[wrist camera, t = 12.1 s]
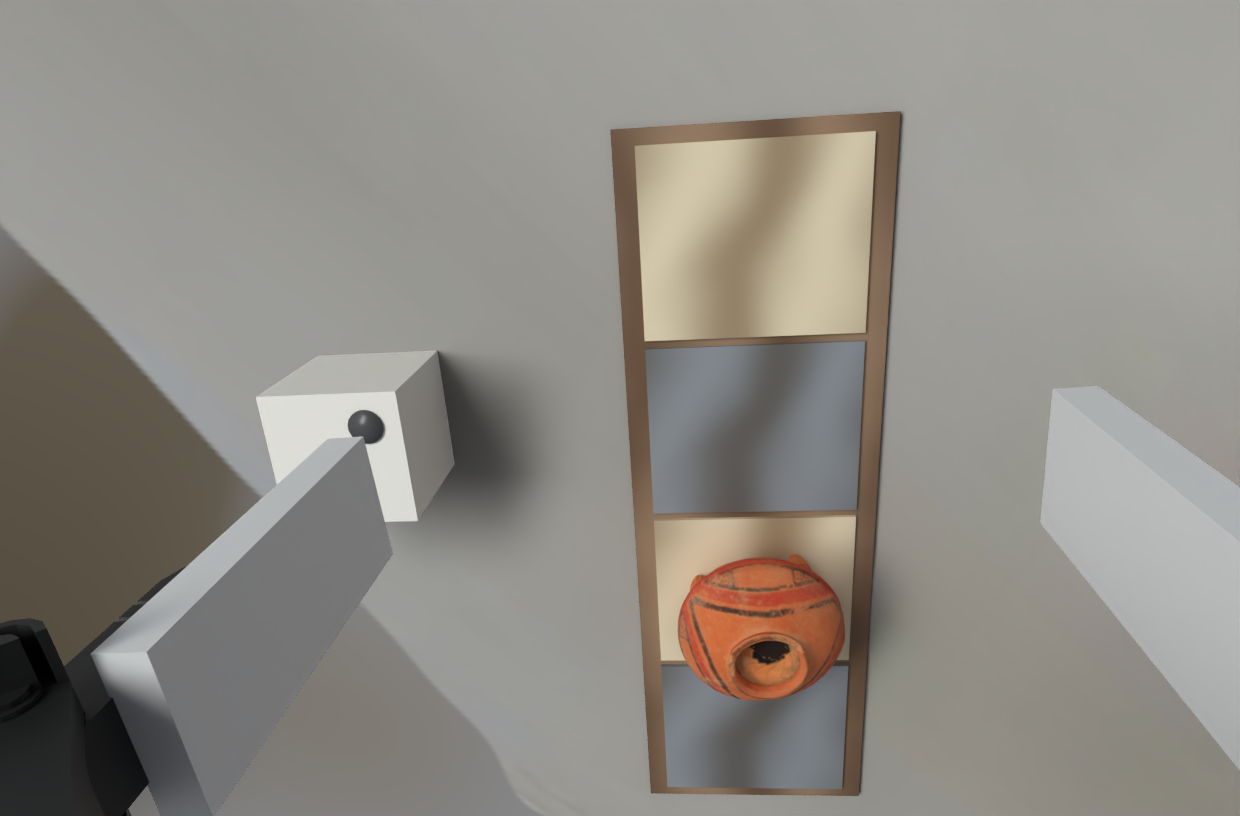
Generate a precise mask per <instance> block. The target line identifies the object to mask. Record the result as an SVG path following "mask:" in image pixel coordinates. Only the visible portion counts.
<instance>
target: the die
mask: <svg viewBox="0 0 1240 816" xmlns="http://www.w3.org/2000/svg"><path fill="white" fill-rule="evenodd" d="M256 400H257V405H258V409H259V413H260V417H261V421H262V425H263V429H264V433H265V437H266V442H267V446H268V450H269V454H270V458H271V462H272V466H273V470H274V474H275V478H276V483H277V484H278V483H280V482H281V481H282V480H283V479H284V478H285V477H286V476H287V475H288V474H289V473H291V472H292V471H293V470H294V469H295V468H296V467H297V466H298V465H299V464H301V463H302V462H303V461H304V460H305V459H306V458H307V457H308V456H309V455H310V454H312V453H313V452H314V451H315V450H316V449H317V448H318V447H319V446H320V445H321V444H323V443H324V442H325V441H326V440H327V439H332V438H347V437H361V436H363V437H364V441H365V445H366V449H367V453H368V457H369V461H370V465H371V469H372V473H373V477H374V481H375V485H376V489H377V493H378V497H379V501H380V505H381V509H382V513H383V517H384V521H385V522H396V521H418V520H419V519H420V517H421V515H422V514H423V512H424V511H425V509H426V508H427V506H428V505H429V503H430V502H431V500H432V499H433V497H434V495H435V494H436V492H437V491H438V489H439V488H440V486H441V485H442V483H443V482H444V480H445V478H446V477H447V475H448V474H449V472H450V471H451V469H452V468H453V466H454V465H455V462H454V455H453V449H452V442H451V436H450V429H449V423H448V416H447V410H446V403H445V397H444V390H443V384H442V378H441V371H440V365H439V358H438V352H437V351H417V352H394V353H372V354H350V355H327V356H317V357H315V358H314V359H312V360H311V361H309V362H308V363H306V364H305V365H303V366H302V367H300V368H299V369H297V370H296V371H294V372H293V373H291V374H290V375H288V376H287V377H285V378H284V379H282V380H280V381H279V382H277V383H276V384H274V385H273V386H271V387H270V388H268V389H267V390H265V391H264V392H262V393H261V394H259V395H258V396H256Z"/></svg>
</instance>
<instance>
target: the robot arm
mask: <svg viewBox="0 0 1240 816" xmlns="http://www.w3.org/2000/svg"><path fill="white" fill-rule="evenodd" d="M1040 523H1041V524H1042V526H1043V527H1044V528H1045V529H1046V531H1047V532H1048V533H1049V534H1050V535H1051V537H1052V538H1053V539H1054V540H1055V542H1056V543H1057V544H1058V545H1059V547H1060V548H1061V549H1062V550H1063V552H1064V553H1065V554H1066V555H1067V557H1068V558H1069V559H1070V560H1071V562H1072V563H1073V564H1074V565H1075V567H1076V568H1077V569H1078V570H1079V572H1080V573H1081V574H1082V575H1083V576H1084V578H1085V579H1086V580H1087V581H1088V583H1089V584H1090V585H1091V586H1092V588H1093V589H1094V590H1095V591H1096V593H1097V594H1098V595H1099V596H1100V598H1101V599H1102V600H1103V601H1104V603H1105V604H1106V605H1107V606H1108V608H1109V609H1110V610H1111V611H1112V612H1113V614H1114V615H1115V616H1116V617H1117V619H1118V620H1119V621H1120V622H1121V624H1122V625H1123V626H1124V627H1125V629H1126V630H1127V631H1128V632H1129V634H1130V635H1131V636H1132V637H1133V639H1134V640H1135V641H1136V642H1137V644H1138V645H1139V646H1140V647H1141V648H1142V650H1143V651H1144V652H1145V653H1146V655H1147V656H1148V657H1149V658H1150V660H1151V661H1152V662H1153V663H1154V665H1155V666H1156V667H1157V668H1158V670H1159V671H1160V672H1161V673H1162V675H1163V676H1164V677H1165V678H1166V680H1167V681H1168V682H1169V683H1170V684H1171V686H1172V687H1173V688H1174V689H1175V691H1176V692H1177V693H1178V694H1179V696H1180V697H1181V698H1182V699H1183V701H1184V702H1185V703H1186V704H1187V706H1188V707H1189V708H1190V709H1191V711H1192V712H1193V713H1194V714H1195V716H1196V717H1197V718H1198V719H1199V721H1200V722H1201V723H1202V724H1203V725H1204V727H1205V728H1206V729H1207V730H1208V732H1209V733H1210V734H1211V735H1212V737H1213V738H1214V739H1215V740H1216V742H1217V743H1218V744H1219V745H1220V747H1221V748H1222V749H1223V750H1224V752H1225V753H1226V754H1227V755H1228V757H1229V758H1230V759H1231V760H1232V761H1233V763H1234V764H1235V765H1236V766H1237V768H1238V769H1239V770H1240V487H1239V486H1237V485H1236V484H1234V483H1233V482H1232V481H1230V480H1229V479H1227V478H1226V477H1225V476H1223V475H1222V474H1220V473H1219V472H1218V471H1216V470H1215V469H1213V468H1212V467H1211V466H1209V465H1208V464H1207V463H1205V462H1204V461H1202V460H1201V459H1200V458H1198V457H1197V456H1195V455H1194V454H1193V453H1191V452H1190V451H1188V450H1187V449H1186V448H1184V447H1183V446H1181V445H1180V444H1179V443H1177V442H1176V441H1174V440H1173V439H1172V438H1170V437H1169V436H1167V435H1166V434H1165V433H1163V432H1162V431H1160V430H1159V429H1158V428H1156V427H1155V426H1153V425H1152V424H1151V423H1149V422H1148V421H1146V420H1145V419H1144V418H1142V417H1141V416H1140V415H1138V414H1137V413H1135V412H1134V411H1133V410H1131V409H1130V408H1128V407H1127V406H1126V405H1124V404H1123V403H1121V402H1120V401H1119V400H1117V399H1116V398H1114V397H1113V396H1112V395H1110V394H1109V393H1107V392H1106V391H1105V390H1103V389H1102V388H1100V387H1099V386H1088V387H1074V388H1059V389H1053V390H1052V401H1051V412H1050V423H1049V434H1048V445H1047V456H1046V467H1045V478H1044V489H1043V500H1042V511H1041V522H1040ZM392 554H393V552H392V548H391V544H390V540H389V536H388V533H387V529H386V525H385V521H384V517H383V513H382V509H381V505H380V501H379V497H378V493H377V489H376V485H375V481H374V477H373V473H372V469H371V465H370V461H369V457H368V453H367V449H366V445H365V441H364V437H363V436H361V437H347V438H332V439H327V440H326V441H325V442H324V443H323V444H321V445H320V446H319V447H318V448H317V449H316V450H315V451H314V452H313V453H312V454H310V455H309V456H308V457H307V458H306V459H305V460H304V461H303V462H302V463H301V464H299V465H298V466H297V467H296V468H295V469H294V470H293V471H292V472H291V473H289V474H288V475H287V476H286V477H285V478H284V479H283V480H282V481H281V482H280V483H278V484H277V485H276V486H275V487H274V488H273V489H272V490H271V491H270V492H268V493H267V494H266V495H265V496H264V497H263V498H262V499H261V500H260V501H259V502H258V503H256V504H255V505H254V506H253V507H252V508H251V509H250V510H249V511H248V512H246V513H245V514H244V515H243V516H242V517H241V518H240V519H239V520H238V521H236V523H234V524H233V525H232V526H231V527H230V528H229V529H228V530H227V531H225V532H224V533H223V534H222V535H221V536H220V537H219V538H218V539H217V540H215V541H214V542H213V543H212V544H211V545H210V546H209V547H208V548H207V549H206V550H205V551H204V552H203V553H201V554H200V555H199V556H198V557H197V558H196V559H195V560H193V561H192V562H191V563H190V564H189V565H187V566H185V567H184V568H182V569H180V570H179V571H177V572H175V573H173V574H172V575H170V576H168V577H167V578H165V579H163V580H161V581H160V582H159V583H158V584H156V585H155V586H154V587H153V588H152V589H151V590H150V591H149V592H147V593H146V594H145V595H144V596H143V597H142V598H141V599H140V600H138V605H133V606H132V607H131V608H129V609H128V610H127V611H126V612H125V613H124V614H123V615H122V616H121V617H119V619H120V620H119V622H114V623H113V624H111V625H110V626H109V627H108V628H107V629H106V630H105V631H104V632H103V633H101V634H100V635H99V636H98V637H97V638H96V639H95V640H93V641H92V642H91V643H90V644H89V645H88V646H87V647H86V648H84V650H82V651H81V652H80V653H79V654H78V655H77V656H75V658H73V659H72V660H71V661H70V662H69V663H68V664H66V665H65V666H63V664H62V661H61V659H60V657H59V655H58V653H57V651H56V648H55V646H54V644H53V642H52V639H51V637H50V635H49V633H48V631H47V628H46V627H45V625H44V623H43V622H42V621H39V620H35V619H20V620H11V621H7V622H4V623H0V816H131V814H130V812H129V809H128V808H129V807H130V806H131V804H132V803H133V802H134V801H135V799H136V798H137V797H138V796H139V795H140V793H141V792H142V791H143V790H144V788H145V787H146V786H147V785H148V787H149V790H150V792H151V794H152V797H153V799H154V801H155V803H156V806H157V808H158V810H159V812H160V815H161V816H215V815H216V813H217V812H218V810H219V809H220V807H221V806H222V804H223V803H224V802H225V800H226V798H227V797H228V795H229V794H230V793H231V791H232V790H233V788H234V787H235V785H236V784H237V782H238V781H239V779H240V778H241V776H242V775H243V774H244V772H245V771H246V769H247V768H248V766H249V765H250V763H251V762H252V760H253V759H254V757H255V756H256V754H257V753H258V751H259V750H260V748H261V747H262V746H263V744H264V743H265V741H266V740H267V738H268V737H269V735H270V734H271V732H272V731H273V729H274V728H275V726H276V725H277V723H278V722H279V721H280V719H281V718H282V716H283V715H284V713H285V712H286V710H287V709H288V707H289V706H290V704H291V703H292V701H293V700H294V699H295V697H296V696H297V694H298V693H299V691H300V690H301V688H302V687H303V685H304V684H305V682H306V681H307V679H308V678H309V676H310V675H311V674H312V672H313V671H314V669H315V668H316V666H317V665H318V663H319V662H320V660H321V659H322V657H323V656H324V654H325V653H326V651H327V650H328V649H329V647H330V646H331V644H332V643H333V641H334V639H335V638H336V637H337V635H338V634H339V632H340V631H341V629H342V628H343V626H344V625H345V624H346V622H347V620H348V619H349V617H350V616H351V614H352V613H353V612H354V610H355V609H356V607H357V606H358V604H359V603H360V601H361V600H362V598H363V597H364V596H365V594H366V593H367V591H368V590H369V588H370V587H371V585H372V584H373V582H374V581H375V579H376V578H377V576H378V575H379V573H380V572H381V571H382V569H383V568H384V566H385V565H386V563H387V562H388V560H389V559H390V557H391V556H392Z"/></svg>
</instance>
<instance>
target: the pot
mask: <svg viewBox="0 0 1240 816" xmlns="http://www.w3.org/2000/svg"><path fill="white" fill-rule="evenodd" d="M678 640H679V645H680V648H681V651H682V654H683V656H684V658H685V660H686V662H687V664H688V665H689V666H690V668H691V669H692V671H693V672H694V673H695V675H697V677H698V678H699V679H701V680H702V681H703V682H704V683H705V684H707V685H708V686H709V687H710V688H712V689H714V690H715V691H717V692H720V693H722V694H724V695H727V696H730V697H734V698H737V699H742V700H754V701H761V700H772V699H780V698H784V697H788V696H791V695H794V694H796V693H798V692H800V691H803V690H805V689H806V688H808V687H810V686H812V685H813V684H814V683H816V682H817V681H818V680H820V679H821V678H822V677H823V676H824V675H825V674H826V673H827V672H828V671H829V670H830V668H831V667H832V666H833V664H834V663H835V661H836V660H837V658H838V656H839V655H840V653H841V651H842V649H843V645H844V642H845V624H844V616H843V611H842V609H841V605H840V602H839V599H838V597H837V595H836V594H835V592H834V591H833V590H832V588H831V587H830V586H829V585H828V583H827V582H826V581H824V580H823V579H822V578H821V577H820V576H818V575H817V574H815V573H814V572H812V570H811V568H810V566H809V565H808V563H807V562H806V561H805V560H804V559H803V558H802V557H800V556H799V555H797V554H792V555H791V556H790V557H789V561H786V560H782V559H777V558H748V559H742V560H738V561H734V562H731V563H727V564H725V565H722V566H720V567H718V568H716V569H715V570H713V571H712V572H711V573H710V574H708V575H707V576H705V577H703V576H702V575H697V576H695V578H694V579H693V581H692V583H691V587H690V592H689V593H688V595H687V597H686V598H685V600H684V602H683V604H682V607H681V609H680V613H679V618H678Z"/></svg>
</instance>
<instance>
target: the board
mask: <svg viewBox="0 0 1240 816" xmlns="http://www.w3.org/2000/svg"><path fill="white" fill-rule="evenodd" d="M900 113H901V111H899V112H883V113H868V114H852V115H836V116H820V117H805V118H789V119H773V120H757V121H742V122H726V123H710V124H694V125H679V126H663V127H647V128H631V129H615V130H611V145H612V161H613V178H614V194H615V211H616V227H617V243H618V260H619V276H620V292H621V309H622V325H623V342H624V358H625V374H626V391H627V407H628V423H629V440H630V456H631V473H632V489H633V505H634V522H635V538H636V555H637V571H638V587H639V604H640V620H641V636H642V653H643V669H644V686H645V702H646V718H647V735H648V751H649V768H650V784H651V793H672V794H752V795H831V796H859V782H860V765H861V749H862V733H863V716H864V700H865V684H866V667H867V651H868V635H869V618H870V602H871V586H872V569H873V553H874V537H875V521H876V504H877V488H878V472H879V455H880V439H881V423H882V406H883V390H884V374H885V357H886V341H887V325H888V308H889V292H890V276H891V259H892V243H893V227H894V210H895V194H896V178H897V162H898V145H899V129H900ZM792 554H797V555H799V556H800V557H802V558H803V559H804V560H805V561H806V562H807V563H808V565H809V566H810V568H811V570H812V572H814V573H815V574H817V575H818V576H820V577H821V578H822V579H823V580H824V581H826V582H827V583H828V585H829V586H830V587H831V588H832V590H833V591H834V592H835V594H836V595H837V597H838V599H839V602H840V605H841V609H842V611H843V616H844V624H845V642H844V645H843V649H842V651H841V653H840V655H839V656H838V658H837V660H836V661H835V663H834V664H833V666H832V667H831V668H830V670H829V671H828V672H827V673H826V674H825V675H824V676H823V677H822V678H821V679H820V680H818V681H817V682H816V683H814V684H813V685H812V686H810V687H808V688H806V689H805V690H803V691H800V692H798V693H796V694H794V695H791V696H788V697H784V698H780V699H772V700H761V701H754V700H742V699H737V698H734V697H730V696H727V695H724V694H722V693H720V692H717V691H715V690H714V689H712V688H710V687H709V686H708V685H707V684H705V683H704V682H703V681H702V680H701V679H699V678H698V677H697V675H695V673H694V672H693V671H692V669H691V668H690V666H689V665H688V664H687V662H686V660H685V658H684V656H683V654H682V651H681V648H680V645H679V640H678V618H679V613H680V609H681V607H682V604H683V602H684V600H685V598H686V597H687V595H688V593H689V592H690V587H691V583H692V581H693V579H694V578H695V576H697V575H702V576H703V577H705V576H707V575H708V574H710V573H711V572H712V571H713V570H715V569H716V568H718V567H720V566H722V565H725V564H727V563H731V562H734V561H738V560H742V559H748V558H777V559H782V560H786V561H789V557H790V556H791V555H792Z"/></svg>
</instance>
